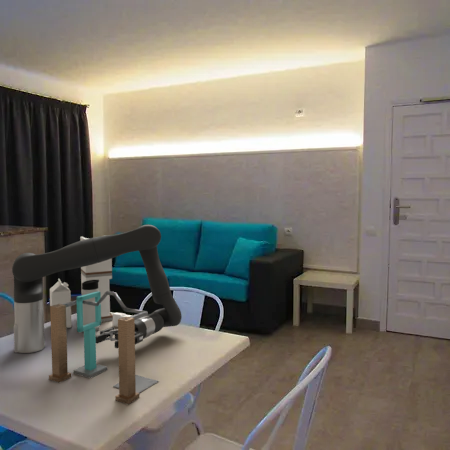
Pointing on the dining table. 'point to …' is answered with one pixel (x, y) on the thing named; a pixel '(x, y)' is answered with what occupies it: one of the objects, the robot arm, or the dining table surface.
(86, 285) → the travel mug
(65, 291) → the milk carton
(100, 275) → the tall white tower
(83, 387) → the dining table surface
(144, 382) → the slate pad
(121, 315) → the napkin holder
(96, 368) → the turquoise post on base
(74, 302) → the bent wire rig
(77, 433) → the dining table surface
